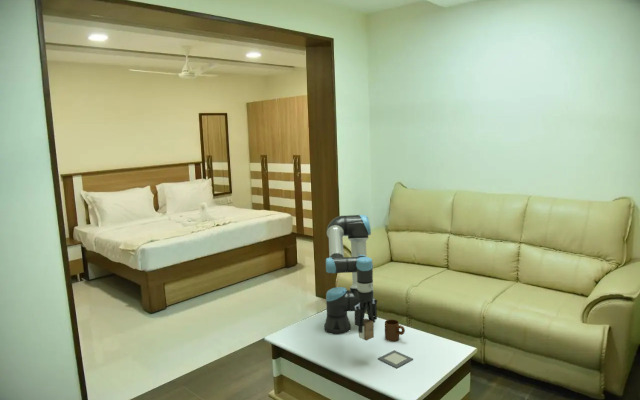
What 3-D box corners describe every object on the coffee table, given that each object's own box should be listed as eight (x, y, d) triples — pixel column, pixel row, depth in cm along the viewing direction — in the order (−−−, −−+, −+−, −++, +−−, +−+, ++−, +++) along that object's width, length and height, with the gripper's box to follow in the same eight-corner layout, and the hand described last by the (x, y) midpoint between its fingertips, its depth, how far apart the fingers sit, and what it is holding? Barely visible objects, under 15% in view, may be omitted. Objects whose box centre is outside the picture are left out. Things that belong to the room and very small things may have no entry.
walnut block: (359, 337, 213) (358, 321, 212) (366, 334, 216) (366, 318, 215) (366, 340, 209) (365, 324, 208) (373, 337, 212) (373, 321, 211)
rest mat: (377, 359, 216) (377, 358, 216) (394, 351, 223) (394, 350, 223) (396, 368, 207) (396, 367, 207) (413, 359, 214) (413, 358, 214)
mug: (408, 341, 234) (408, 324, 233) (400, 345, 229) (399, 328, 228) (390, 334, 243) (390, 317, 241) (382, 338, 238) (381, 322, 236)
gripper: (356, 296, 201) (357, 345, 204) (384, 287, 212) (385, 333, 215) (345, 292, 207) (347, 339, 210) (373, 283, 218) (374, 328, 221)
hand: (366, 336), depth 213 cm, fingers closed on walnut block, 5 cm apart
